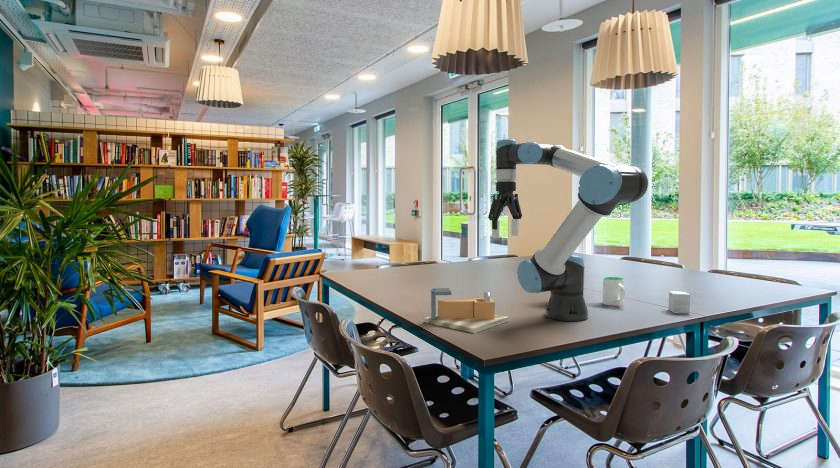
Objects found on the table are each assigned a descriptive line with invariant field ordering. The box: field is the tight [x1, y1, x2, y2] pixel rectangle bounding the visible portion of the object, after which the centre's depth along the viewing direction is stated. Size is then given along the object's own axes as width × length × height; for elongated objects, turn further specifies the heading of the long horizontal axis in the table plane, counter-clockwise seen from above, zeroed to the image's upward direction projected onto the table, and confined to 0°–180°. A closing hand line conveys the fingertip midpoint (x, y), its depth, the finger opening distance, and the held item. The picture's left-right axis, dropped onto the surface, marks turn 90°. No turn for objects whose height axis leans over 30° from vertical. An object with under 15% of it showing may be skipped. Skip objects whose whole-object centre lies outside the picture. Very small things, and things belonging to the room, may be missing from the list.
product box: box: [667, 290, 691, 314], centre depth 196 cm, size 6×6×7 cm
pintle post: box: [483, 291, 491, 302], centre depth 182 cm, size 2×2×9 cm
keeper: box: [430, 287, 452, 320], centre depth 181 cm, size 7×7×10 cm
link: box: [437, 297, 496, 319], centre depth 183 cm, size 20×7×6 cm, turn 92°
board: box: [423, 313, 510, 334], centre depth 183 cm, size 22×21×2 cm
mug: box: [602, 276, 626, 307], centre depth 209 cm, size 12×8×10 cm
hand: (505, 237), depth 197 cm, fingers open, 13 cm apart
